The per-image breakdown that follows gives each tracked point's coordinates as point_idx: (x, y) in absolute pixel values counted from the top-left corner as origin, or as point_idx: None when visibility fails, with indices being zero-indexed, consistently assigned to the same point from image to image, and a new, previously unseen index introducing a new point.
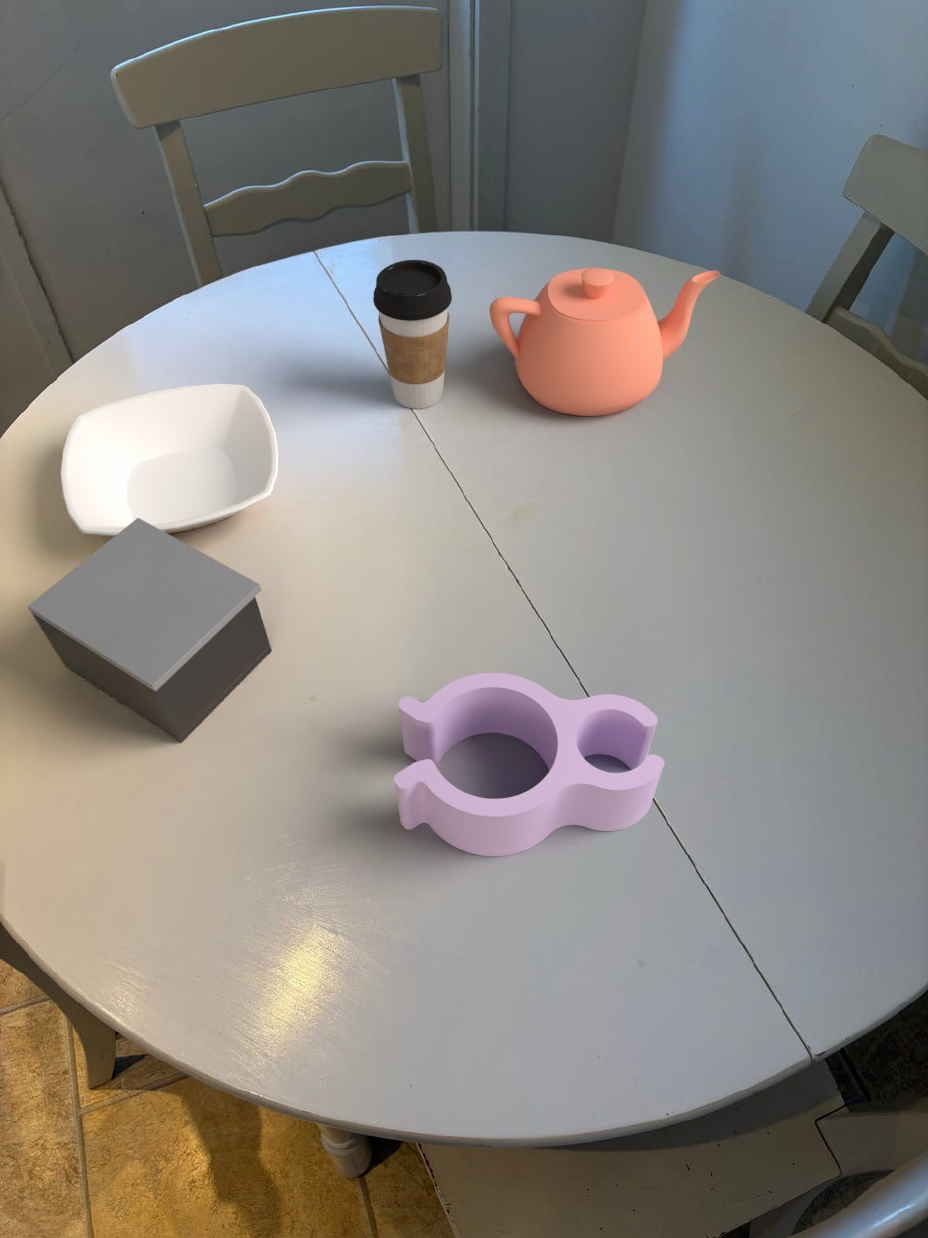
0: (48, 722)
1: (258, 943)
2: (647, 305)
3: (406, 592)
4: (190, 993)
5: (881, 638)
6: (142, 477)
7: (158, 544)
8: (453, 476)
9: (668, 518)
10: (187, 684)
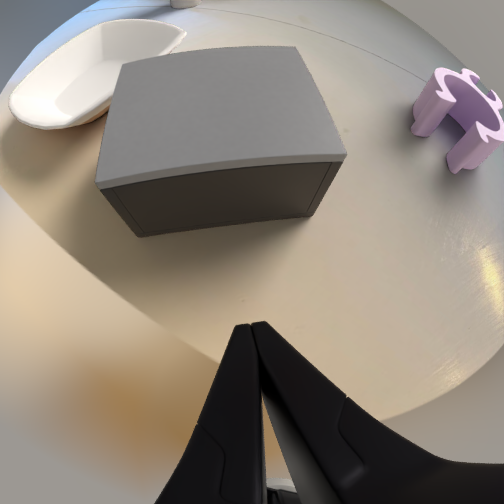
0: (182, 291)
1: (473, 284)
2: None
3: (307, 58)
4: (473, 338)
5: (436, 43)
6: (65, 100)
7: (167, 62)
8: (251, 15)
9: (350, 13)
10: None
